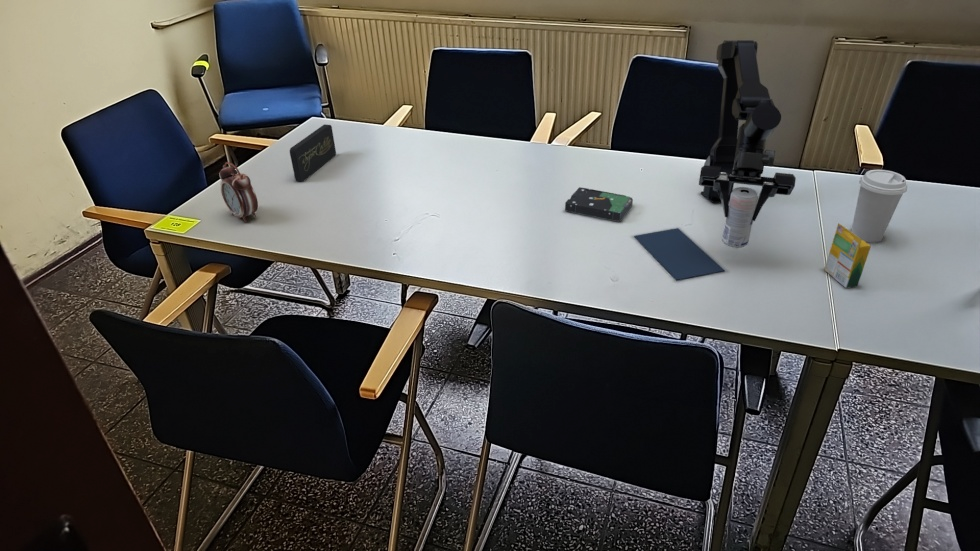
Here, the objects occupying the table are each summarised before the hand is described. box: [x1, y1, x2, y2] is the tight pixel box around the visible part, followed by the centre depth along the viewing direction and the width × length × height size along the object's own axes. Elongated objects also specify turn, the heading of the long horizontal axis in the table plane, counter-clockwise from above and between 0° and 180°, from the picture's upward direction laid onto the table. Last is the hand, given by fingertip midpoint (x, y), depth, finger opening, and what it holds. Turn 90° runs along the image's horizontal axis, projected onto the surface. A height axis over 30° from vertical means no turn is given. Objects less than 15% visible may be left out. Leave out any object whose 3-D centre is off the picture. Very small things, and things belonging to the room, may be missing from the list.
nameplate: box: [289, 124, 337, 182], centre depth 193 cm, size 21×2×10 cm, turn 163°
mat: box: [633, 227, 726, 281], centre depth 149 cm, size 12×20×1 cm, turn 16°
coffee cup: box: [850, 169, 908, 244], centre depth 149 cm, size 10×10×15 cm
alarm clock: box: [218, 161, 259, 223], centre depth 167 cm, size 11×5×15 cm, turn 47°
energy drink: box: [721, 186, 759, 249], centre depth 139 cm, size 5×5×12 cm
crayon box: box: [823, 222, 872, 289], centre depth 136 cm, size 7×3×12 cm, turn 12°
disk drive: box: [564, 186, 634, 222], centre depth 168 cm, size 10×3×15 cm
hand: (739, 218), depth 138 cm, fingers closed on energy drink, 5 cm apart
